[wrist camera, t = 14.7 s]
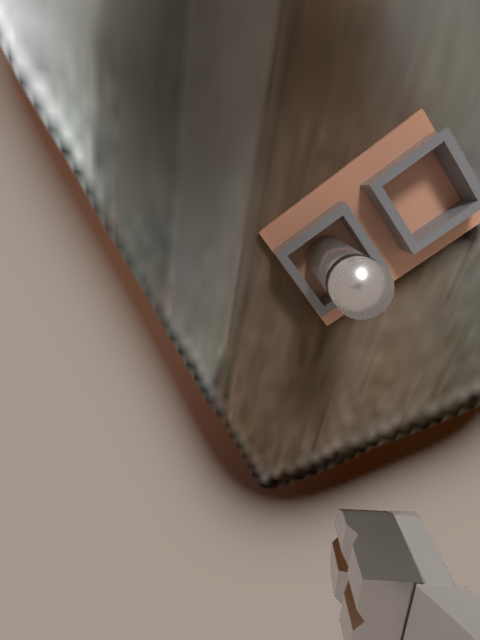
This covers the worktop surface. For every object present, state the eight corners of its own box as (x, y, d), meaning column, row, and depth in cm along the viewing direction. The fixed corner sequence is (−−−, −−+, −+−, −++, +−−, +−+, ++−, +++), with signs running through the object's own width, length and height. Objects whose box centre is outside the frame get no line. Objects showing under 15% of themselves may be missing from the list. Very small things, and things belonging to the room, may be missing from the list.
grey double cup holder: (258, 231, 41) (259, 235, 37) (417, 110, 37) (437, 101, 33) (324, 322, 44) (332, 336, 40) (478, 218, 40) (504, 221, 36)
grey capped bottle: (298, 252, 40) (320, 285, 27) (333, 226, 39) (374, 247, 26) (321, 285, 41) (354, 332, 28) (356, 260, 40) (407, 297, 27)
